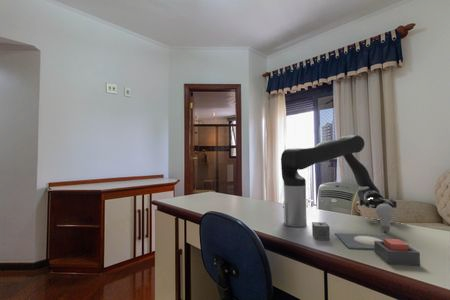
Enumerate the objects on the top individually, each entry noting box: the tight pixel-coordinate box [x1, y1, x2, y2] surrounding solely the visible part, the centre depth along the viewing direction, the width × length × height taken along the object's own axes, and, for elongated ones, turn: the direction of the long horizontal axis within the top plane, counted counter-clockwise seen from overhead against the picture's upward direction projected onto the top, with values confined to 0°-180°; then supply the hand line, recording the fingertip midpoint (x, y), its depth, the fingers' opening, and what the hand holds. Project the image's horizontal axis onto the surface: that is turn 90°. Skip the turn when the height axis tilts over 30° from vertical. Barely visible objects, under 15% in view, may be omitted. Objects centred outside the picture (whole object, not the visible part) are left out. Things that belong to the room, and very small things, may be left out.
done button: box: [384, 238, 409, 251], centre depth 70 cm, size 4×4×2 cm
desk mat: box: [334, 232, 393, 251], centre depth 83 cm, size 18×14×1 cm
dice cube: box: [311, 221, 331, 241], centre depth 88 cm, size 5×5×5 cm
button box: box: [374, 241, 421, 266], centre depth 70 cm, size 8×8×4 cm
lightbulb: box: [375, 203, 395, 233], centre depth 93 cm, size 6×6×11 cm
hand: (379, 205), depth 104 cm, fingers open, 8 cm apart
